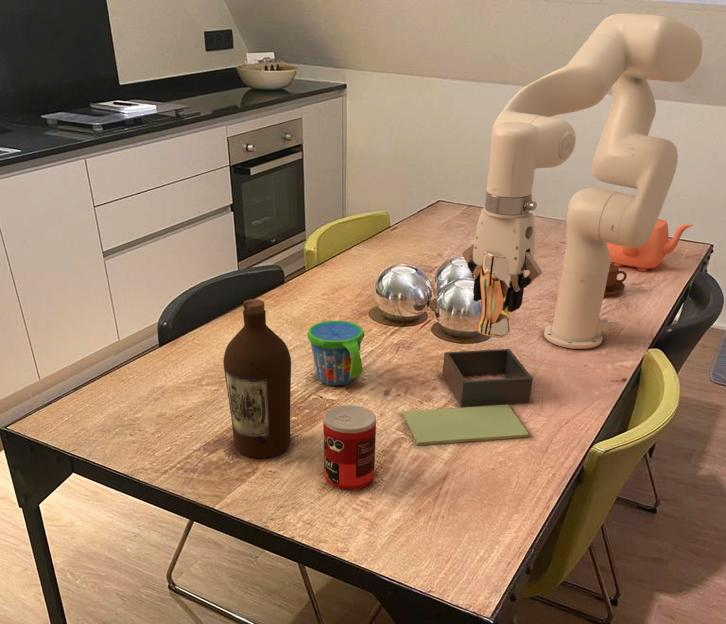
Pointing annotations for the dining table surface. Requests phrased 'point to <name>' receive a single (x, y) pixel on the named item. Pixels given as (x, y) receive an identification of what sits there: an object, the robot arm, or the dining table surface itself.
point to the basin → (487, 390)
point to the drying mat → (464, 424)
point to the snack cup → (336, 351)
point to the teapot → (647, 248)
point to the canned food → (349, 446)
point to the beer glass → (494, 296)
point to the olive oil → (258, 386)
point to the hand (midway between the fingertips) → (496, 303)
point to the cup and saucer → (614, 281)
